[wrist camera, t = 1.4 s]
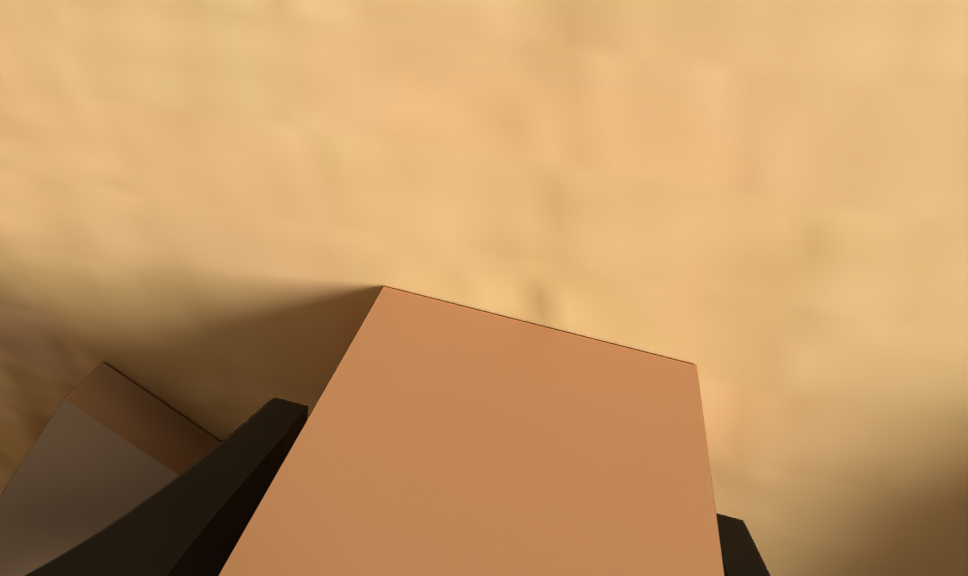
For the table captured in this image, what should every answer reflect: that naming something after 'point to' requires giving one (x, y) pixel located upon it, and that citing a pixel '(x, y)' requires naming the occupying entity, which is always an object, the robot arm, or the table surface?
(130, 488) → the duct board
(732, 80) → the table surface
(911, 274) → the table surface
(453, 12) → the table surface
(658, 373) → the duct sleeve
